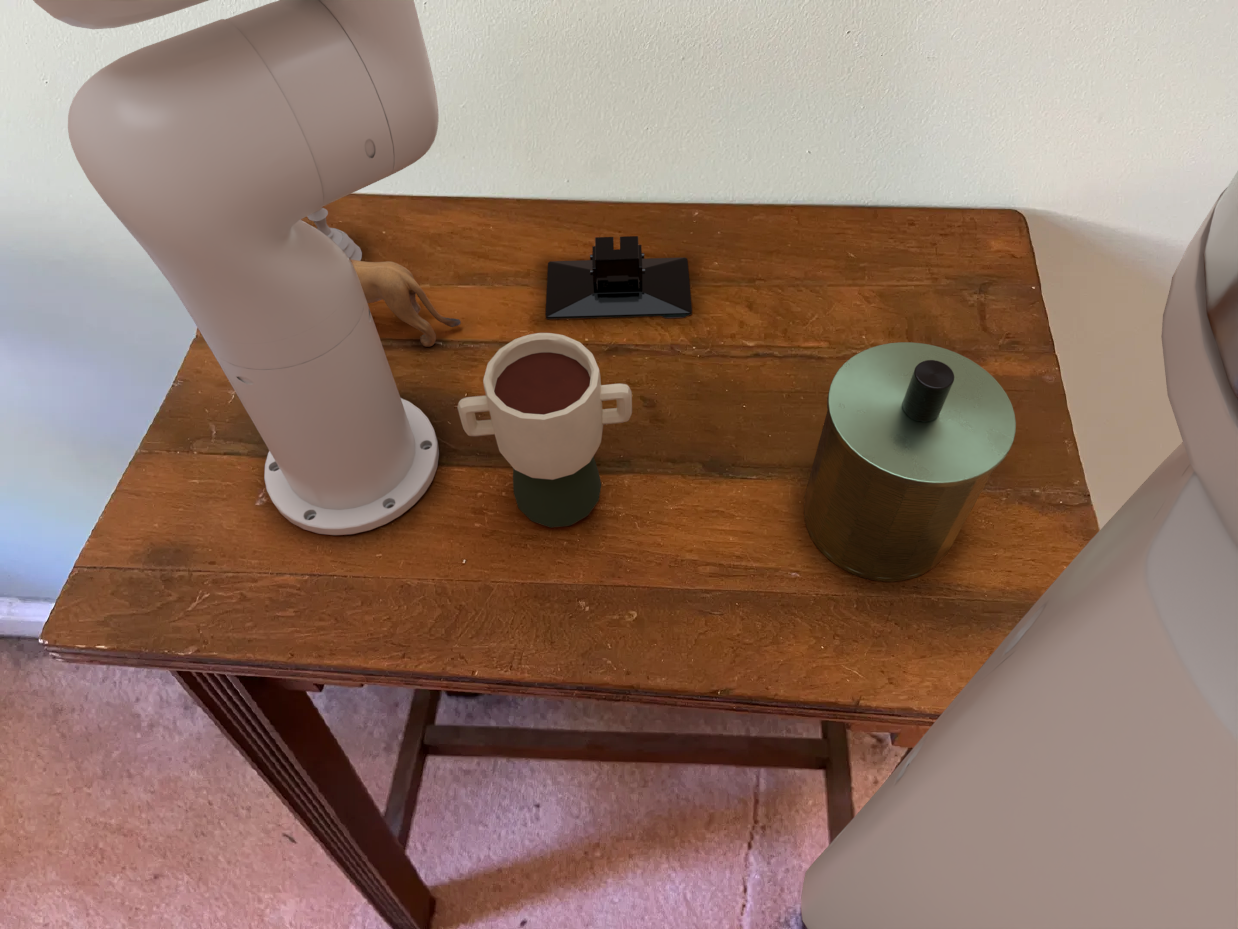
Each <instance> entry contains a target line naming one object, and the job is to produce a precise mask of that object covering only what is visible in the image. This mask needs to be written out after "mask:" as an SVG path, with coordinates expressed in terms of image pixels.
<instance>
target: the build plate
mask: <svg viewBox="0 0 1238 929" xmlns="http://www.w3.org/2000/svg"><path fill="white" fill-rule="evenodd" d="M591 246H592V249H591V250H592V254H589V259H587V260H586V259H584V260H583V259H581V260H553V261H552V260H551V261H549V262H547V275H546V294H545V319H546V320H581V319H583V320H584V319H616V318H617V319H618V318H648V317H649V318H650V317H651V318H653V317H654V318H655V317H661V318H663V319H685V318H687V317H690V316H692V315H693V305H692V304H693V303H692V294H691V282H690V274H689V272H690V271H689V263H688V261H689V260H688V258H687V257H655V258H651V257H649V258H645V252H643V251H642V249H643V248H642V244H639V236H638V235H630V236H629V235H628V236H619V249H616V248H615V247H614V246H615V243H614V236H595V237H594V245H591Z"/></svg>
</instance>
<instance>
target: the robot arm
mask: <svg viewBox="0 0 1238 929" xmlns="http://www.w3.org/2000/svg"><path fill="white" fill-rule="evenodd" d="M32 1H33V2H34V3H35V4H36V5H37V6H38V7H40V8H41V9H42V10H44V11H45V13H47V14H48V15H50V16H51V17H52V18H53V19H56V20H58V21H61V22H62V23H65V24H67V25H69V26H71V27H76V28H82V29H87V30H104V29H105V30H106V29H117V28H121V27H126V26H130V25H135V24H139V23H143V22H146V21H149V20H153V19H156V18H157V19H158V18H160V17H163V16H167V15H169V14H172V13H176V12H178V11H182V10H184V9H187V8H190V7H193V6H197V5H199V4H203V3H205V2H209V0H32ZM439 117H440V114H439V104H438V95H437V90H436V84H435V80H434V76H433V72H432V66H431V63H430V59H429V55H428V50H427V47H426V42H425V39H424V34H423V32H422V27H421V23H420V20H419V16H418V12H417V7H416V3H415V0H276V1H272V2H269V3H266V4H263V5H261V6H258V7H255V8H252V9H250V10H247V11H244V12H242V13H239V14H236V15H233V16H231V17H228V18H221V19H218V20H215V21H212V22H210V23H206V24H204V25H202V26H199V27H196V28H193V29H191V30H188V31H185V32H183V33H180V34H177V35H175V36H171V37H169V38H166V39H163V40H160V41H157V42H155V43H151V44H149V45H147V46H144V47H140V48H139V49H136V50H134V51H132V52H130V53H127V54H125V55H123V56H120V57H119V58H117V59H116V60H114V61H112V62H111V63H109V64H107V65H105V66H103V67H102V68H100V69H99V70H97V71H96V72H95V73H94V74H93V75H91V77H89V78H88V79H87V80H86V81H85V82H84V83H83V84H82V85H81V86H80V88H78V90H77V91H76V93H75V95H74V97H73V99H72V101H71V103H70V106H69V110H68V114H67V132H68V133H67V134H68V138H69V142H70V146H71V148H72V151H73V153H74V157H75V158H76V160H77V162H78V164H79V166H80V168H81V169H82V171H83V173H84V175H85V177H86V179H87V180H88V182H89V183H90V185H91V186H92V187H93V189H94V190H95V191H96V193H97V195H99V197H100V198H101V200H102V201H103V203H104V204H105V205H106V206H107V207H108V208H109V209H110V211H111V212H112V213H113V214H114V216H115V217H116V218H117V219H118V220H119V222H120V223H121V224H122V225H123V226H124V227H125V229H126V230H127V231H128V232H129V233H130V234H131V236H132V237H133V238H134V240H136V242H137V243H138V244H139V245H140V247H141V248H142V249H143V250H144V252H145V253H146V254H147V255H148V257H149V258H150V259H151V261H152V262H153V263H154V264H155V266H156V267H157V269H158V270H159V271H160V273H161V274H162V275H163V277H164V278H165V279H166V281H167V282H168V284H169V285H170V286H171V288H172V289H173V291H174V292H175V294H176V296H177V297H178V299H179V300H180V302H181V304H182V305H183V307H184V308H185V310H186V311H187V313H188V314H189V316H190V318H191V319H192V321H193V322H194V324H195V326H196V327H197V329H198V331H199V332H200V334H201V336H202V338H203V339H204V341H205V343H206V345H207V346H208V348H209V350H210V351H211V353H212V354H213V356H214V358H215V360H216V361H217V363H218V365H219V366H220V368H221V370H222V372H223V374H224V375H225V377H226V378H227V380H228V382H229V383H230V385H231V387H232V389H233V391H234V392H235V394H236V395H237V398H238V399H239V401H240V403H241V404H242V406H243V407H244V410H245V411H246V413H247V414H248V416H249V418H250V420H251V422H252V423H253V425H254V427H255V428H256V430H257V432H258V434H259V435H260V437H261V439H262V440H263V442H264V444H265V447H267V449H268V452H267V455H266V459H265V463H264V474H263V475H264V476H263V477H264V478H263V479H264V483H265V488H266V489H265V490H266V492H267V495H268V496H269V498H270V500H271V502H272V503H273V504H274V506H275V508H276V509H277V511H278V512H279V513H280V514H281V515H282V516H283V517H284V518H285V519H286V520H288V522H290V523H291V524H293V525H295V526H297V527H298V528H301V529H302V530H304V531H308V532H311V533H315V534H319V535H330V536H343V535H344V536H347V535H355V534H359V533H364V532H368V531H372V530H374V529H376V528H379V527H382V526H384V525H387V524H389V523H390V522H392V521H394V520H395V519H397V518H399V517H401V516H402V515H403V514H405V513H406V512H407V511H408V510H409V509H411V508H412V507H413V506H414V505H416V504H417V503H418V501H419V500H420V499H421V498H422V497H423V496H424V495H425V493H426V492H427V490H428V489H429V487H430V485H432V484H431V483H432V482H433V480H434V477H435V475H436V472H437V469H438V466H439V459H440V450H439V449H440V448H439V440H438V437H437V435H436V432H435V429H434V427H433V425H432V423H431V421H430V419H429V417H428V416H427V415H426V414H425V413H424V412H423V411H422V410H421V409H420V408H419V407H417V406H416V405H414V404H413V403H412V402H411V401H409V400H407V399H404V398H402V397H401V395H400V393H399V390H398V386H397V383H396V380H395V378H394V375H393V373H392V369H391V367H390V364H389V360H388V358H387V355H386V352H385V350H384V346H383V344H382V341H381V338H380V335H379V332H378V330H377V327H376V323H375V321H374V318H373V315H372V313H371V309H370V306H369V303H367V301H366V298H365V295H364V292H363V289H362V286H361V283H360V281H359V278H358V275H357V273H356V271H355V268H354V266H353V264H352V263H351V261H350V260H349V258H348V257H347V255H346V254H345V253H344V251H343V250H342V249H341V248H340V247H339V246H338V245H337V244H336V243H335V242H334V241H333V240H332V239H330V238H329V237H328V236H326V235H325V234H324V233H322V232H321V231H319V230H318V229H317V227H315V226H313V225H311V224H309V223H308V222H306V221H304V220H303V219H304V218H306V217H307V218H308V215H310V214H312V213H314V212H316V211H319V210H320V209H322V208H324V207H326V206H328V205H330V204H332V203H334V202H336V201H339V200H340V199H342V198H345V197H347V196H350V195H351V194H353V193H355V192H357V191H360V190H362V189H364V188H366V187H368V186H371V185H373V184H375V183H377V182H379V181H381V180H383V179H386V178H388V177H391V176H392V175H394V174H396V173H398V172H401V171H402V170H404V169H406V168H408V167H409V166H411V165H414V163H416V162H418V161H419V160H420V159H422V158H423V157H424V156H425V155H426V154H427V153H428V152H429V150H431V148H432V146H433V144H434V143H435V140H436V137H437V134H438V129H439V122H440V121H439V119H440V118H439ZM1160 339H1161V346H1162V353H1163V354H1162V357H1163V363H1164V364H1163V366H1164V376H1165V384H1166V392H1167V397H1168V401H1169V404H1170V406H1171V410H1172V413H1173V416H1174V419H1175V422H1176V424H1177V425H1176V426H1177V428H1178V432H1179V434H1180V437H1181V440H1182V442H1180V444H1179V445H1178V446H1177V447H1176V448H1175V449H1174V450H1173V451H1172V452H1171V453H1170V454H1169V455H1168V456H1167V457H1166V458H1165V459H1164V460H1163V461H1162V462H1161V463H1160V464H1159V465H1158V466H1157V467H1156V468H1155V470H1154V471H1153V472H1152V473H1150V475H1149V476H1148V477H1147V478H1146V479H1145V480H1144V482H1143V483H1142V484H1141V485H1140V486H1139V487H1138V488H1137V489H1136V490H1135V491H1134V492H1133V493H1132V495H1131V496H1129V498H1128V499H1127V500H1126V501H1125V502H1124V503H1123V505H1121V507H1120V508H1119V509H1118V510H1117V511H1116V512H1115V513H1114V514H1113V515H1112V516H1111V517H1110V518H1109V520H1108V521H1107V522H1106V523H1105V524H1104V525H1103V526H1102V528H1100V530H1098V531H1097V533H1096V534H1095V535H1094V536H1093V537H1092V538H1091V539H1090V540H1089V541H1088V543H1087V544H1085V546H1084V547H1083V548H1082V549H1081V550H1080V551H1079V553H1078V554H1076V556H1075V557H1074V558H1073V559H1072V560H1071V562H1070V563H1069V564H1068V565H1067V567H1065V569H1063V570H1062V572H1061V573H1060V574H1059V575H1058V576H1057V578H1056V579H1055V580H1054V581H1053V582H1052V583H1051V585H1050V586H1049V587H1048V588H1047V589H1046V590H1045V591H1044V592H1043V594H1042V595H1041V596H1040V597H1039V598H1038V599H1037V600H1036V602H1035V603H1034V604H1033V605H1032V606H1031V607H1030V608H1029V610H1028V611H1027V612H1026V613H1025V614H1024V615H1023V617H1021V619H1020V620H1019V621H1018V622H1017V624H1016V625H1015V626H1014V627H1013V628H1012V629H1011V631H1010V632H1009V633H1008V634H1007V636H1005V637H1004V639H1002V640H1003V641H1002V642H1001V643H1000V644H999V645H998V646H997V647H996V649H995V650H994V651H993V652H992V653H991V654H990V655H989V657H988V658H987V659H986V661H985V662H984V663H983V664H982V665H981V666H980V668H979V669H978V670H977V671H976V672H975V674H974V675H973V676H972V677H971V678H970V679H969V680H968V682H967V683H966V684H965V685H964V687H963V688H962V689H961V690H960V691H959V692H958V694H956V696H955V697H954V698H953V700H952V701H951V702H950V703H949V704H948V705H947V707H946V708H945V709H944V710H943V712H942V713H941V714H940V715H939V717H937V719H936V720H935V721H934V722H933V723H932V725H931V726H930V727H929V728H928V730H927V731H926V732H925V733H924V734H923V736H922V737H921V738H920V739H919V741H918V742H917V743H916V744H915V745H914V746H913V747H912V749H911V750H910V751H909V752H908V754H906V756H905V757H904V759H902V761H901V762H900V763H899V765H897V767H895V769H894V770H893V772H891V774H890V775H889V776H888V777H887V778H886V780H885V781H884V782H882V784H881V786H879V788H878V789H877V790H876V792H874V794H873V795H872V796H871V797H870V798H869V800H867V801H866V802H865V804H864V805H863V806H862V807H861V808H860V810H859V811H858V812H857V814H855V815H854V817H852V819H851V820H850V821H849V822H848V823H847V824H846V826H844V828H843V829H842V830H841V831H840V832H839V833H838V834H837V835H836V836H835V838H834V839H833V840H832V841H831V842H830V843H829V844H828V846H827V847H826V848H825V849H824V850H823V851H822V852H821V853H820V854H819V855H818V857H817V858H816V859H815V860H814V861H813V862H812V863H811V865H810V866H809V867H808V868H807V869H806V871H805V873H804V877H803V882H802V887H801V895H800V912H801V920H802V922H803V924H804V925H805V927H806V928H807V929H1238V170H1237V171H1236V173H1235V174H1234V176H1233V177H1232V178H1231V181H1230V182H1229V184H1228V185H1227V186H1226V187H1225V188H1224V190H1223V191H1222V192H1221V193H1220V194H1219V196H1218V197H1217V199H1216V201H1215V202H1214V203H1213V206H1212V207H1211V209H1210V210H1209V212H1208V213H1207V215H1206V216H1205V218H1204V219H1203V221H1202V223H1201V225H1200V226H1199V227H1198V229H1197V231H1196V233H1195V234H1194V235H1193V237H1192V238H1191V240H1190V242H1189V243H1188V245H1187V247H1186V249H1185V251H1184V253H1183V255H1182V257H1181V259H1180V260H1179V262H1178V265H1177V267H1176V269H1175V271H1174V272H1173V275H1172V277H1171V280H1170V286H1169V290H1168V294H1167V299H1166V303H1165V305H1164V310H1163V314H1162V322H1161V338H1160Z"/></svg>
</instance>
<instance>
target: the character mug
mask: <svg viewBox="0 0 1238 929" xmlns="http://www.w3.org/2000/svg"><path fill="white" fill-rule="evenodd" d="M601 378H602V377H601V372H600V368H599V366H598V363H597V361H596V358H595V356H594V353H592V352H591V351H590V350H589V349H588V348H587V347H586V346H585V345H583V343H581V341H579V340H576V339H573V338H571V337H569V336H566V335H564V334H559V333H552V332H535V333H530V334H526V335H523V336H521V337H518V338H515V339H512V341H510V342H508V343H507V344H505V345H503V346H502V347H500V348H499V349H498V350H497V351H496V353H495V354H494V355H493V356H492V357H491V358H490V360H489V361H488V362H487V364H486V369H485V372H484V376H483V379H482V381H483V382H482V383H483V389H484V393H485V395H477V396H476V395H475V396H467V397H463V398H461V399H460V400H459V401H458V404H457V407H456V408H457V412H458V415H459V419H460V422H461V425H462V430H464V433H466V435H467V436H469V437H482V436H483V437H484V436H493V435H494V438H495V441H496V445H497V448H498V451H499V453H500V454H501V455H502V457H503V458H504V459H505V460H506V461H507V463H508V464H509V465H510V466H511V468H512V489H513V495H514V499H515V502H516V505H517V508H518V510H520V511H521V513H523V515H525V516H526V517H527V518H528V519H529V520H530V521H531V522H533V523H536V524H539V525H542V526H545V527H547V528H550V529H551V528H559V527H560V528H561V527H571V526H572V525H575V524H576V523H578V522H580V521H581V520H583V519H585V518H586V517H588V516H589V515H590V513H591V512H592V511H593V509H594V508H595V507H596V506H597V504H598V503H599V502H600V496H601V490H602V480H601V476H600V472H599V468H598V464H597V462H596V459H595V455H596V453H597V451H598V449H599V447H600V445H601V443H602V438H603V430H604V425H615V424H623V423H627V422H629V421H630V419H631V416H632V413H633V391H632V390H631V388H630V386H629V385H628V384H627V383H611V384H602V381H601V380H602V379H601ZM606 401H616V407H614V408H603V402H606ZM482 412H483V413H485V412H489V416H490V419H482V420H481V419H480V420H478V419H477V417H476V413H482Z"/></svg>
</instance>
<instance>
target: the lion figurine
mask: <svg viewBox="0 0 1238 929" xmlns="http://www.w3.org/2000/svg"><path fill="white" fill-rule="evenodd" d="M349 260H350V261H351V263H352V264H353V266H354V268H355V271H356V273H357V275H358V278H359V281H360V283H361V286H362V289H363V292H364V295H365V298H366V301H367V303H368V304H373V303H377V302H379V301H381V300H383V301H384V303H385V304H386V306H387V307H388V309H389V310H390V311H391V312H392V313H393V314H394V316H396V317H397V318H398V319H400V321H402V322H404V323H405V324H406V325H409V326H411V327H413V328H414V329H417V330H418V331H420V332H421V333H422V335H420V337H419V341H420V343H421V345H422V346H423V347H427V348H429V347H432V346H434V344H435V343H436V341H437V334H436V332H435V330H434V328H433V327H432V324H430V322H429V321H427V320H426V319H424V318H422V317H421V315H419V313H420V311H421V310H422V309H421V308H422V307H421V305H420V304H419V303H418V301H417V299H416V297H418V299H419V300H420V302H421V303H422V305H423V306H424V307H425V309H427V311H428V312H429V313H430V314H431V315H432V316H433V318H435V320H437V321H438V322H440V323H442V324H443V325H446V326H447V327H451V328H454V327H458V326H460V325H461V321H462V320H461V319H458V318H454V317H453V318H452V317H451V318H450V317H445V316H442V315H441V314H440V313H439V312H438V310H437V309H436V308H435V307H434V305H433V304H432V302H431V300H430V299H429V297H428V296H427V294H426V292H425V291H424V289H422V287H421V286H420V284H419V283H418V282H417V281H416V280H415V277H414V275H413V273H412V272H411V271H410V270H409V269H408V268H406V267H405V266H403V265H401V264H399V263H397V262H395V261H391V260H390V261H388V260H387V261H364V260H360V261H358V260H352V259H349ZM416 295H417V296H416Z"/></svg>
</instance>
